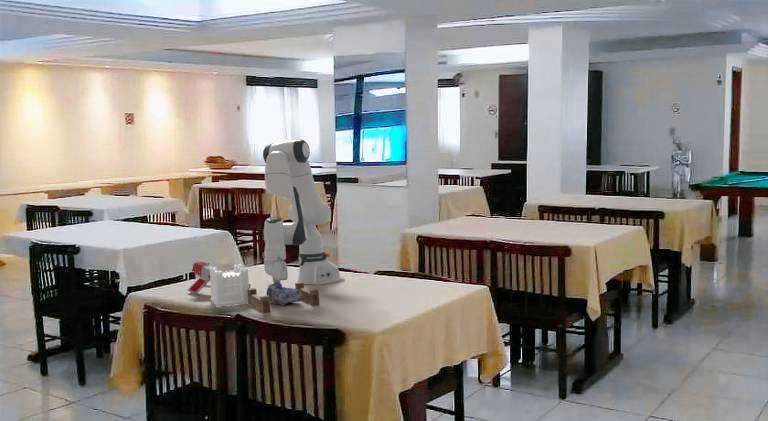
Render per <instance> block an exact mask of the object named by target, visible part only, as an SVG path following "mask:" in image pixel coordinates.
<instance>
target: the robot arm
mask: <svg viewBox="0 0 768 421" xmlns="http://www.w3.org/2000/svg"><path fill="white" fill-rule="evenodd" d="M310 152H311V150H310V147H309V143H308V142H307V141H306V140H304V139H290V140H289V139H287V140H283V141H278V142H275V143H274V142H273V143H269V144H267V145H265V146H264V149H263V151H262V158H263V161H264V163H265V167H264V185H265V188H266V190H267V192H269V193H270V194H272V195H273V196H275V197H278V198H281V199H284V200H286V201H288V202H289V207H288V210H287V214H288V217H289V219H291V221H292V222H284V220H283V218H282V217H281V216H271V217H267V218H266V219H265V221H264V225H263V227H264V228H263V229H262V236H263V237H262V239H263V241H264V244H265V245H264V252H262V258H263V266H264V272H265V274H267V275H268V276H269V277H270V276H271V277H272V281H273V284H274V283H276V282H278V283H281V281H287V280H288V278H289V276H288V274H289V273H288V265H287V263H286V261H285V260H287V254H286V245H290V246H291V245H293V246H299V253H298V264H299V270H298V271H299V272H298V278H297V283H299V282H303V283H304V285H318V286H320V285H326V284H331V283H336V282H342V281H345V276H342V275H340V270H339V268H338V266H337V265H336V264H334V263H333V262H332V261H330V260H329V259H327V258H330V256H331V254H330V252H325V251H323V236H322V234H321V233H320V231H319V230H318V228H317V226H318V225H324V224H326V223H328V222H329V221H330V219H331V217H332V210H331V207H330V206H329V205H328V204H327V203H326V202H325V201H324V200H323V198H322V197H321V195H320V193H319V191H318V189H317V186H316V183H315V180H314V176H313V172H312V168H311V164H310V161H309V157H310V154H311V153H310Z"/></svg>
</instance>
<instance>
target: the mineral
mask: <svg viewBox="0 0 768 421" xmlns="http://www.w3.org/2000/svg"><path fill="white" fill-rule="evenodd" d="M299 293H300V290H297V289H295V288H292V287H285V286H282V283H281V282H280V283H278V282H276V283H274V282H273V283H270V284H268V286H267V289H266V296H267V295H268V296H270V303H272V304H273V305H278V304H280V305H281V306H286V305H287V304H291V303H292V304H293V303H300V302H301V301H302V300H301V299H300V298H301V294H299Z"/></svg>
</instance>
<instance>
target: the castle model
mask: <svg viewBox="0 0 768 421" xmlns="http://www.w3.org/2000/svg"><path fill="white" fill-rule="evenodd" d="M242 266H243V265H242V264H241V263H239V264H233V270H225V271H223V270H221V271H217V269H218V267H217V266H212V267H213V268H212V267H210V279H211V282H210V285H211V288H210V291H211V292H210V293H211V296H210V302H211V301H212V302H213V303H214V304H215V305H214V304H213V303H212V302H211V303H212V304H213V305H214V306H215V307H216V308H221V307H220V306H226V307H229V306H228V305H234V306H236V305H235V304H242V305H248V304H247V303H248V289H249V284H250V283H249V269H248V268H247V267H244V268H243V267H242ZM223 272H225V273H223Z"/></svg>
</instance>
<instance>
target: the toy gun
mask: <svg viewBox="0 0 768 421" xmlns="http://www.w3.org/2000/svg"><path fill="white" fill-rule="evenodd" d="M210 267H212V268H213V267H214V266H213V265H210V263H209V262H208V263H207V262H203V261H198V262H195V263H193V265H192V269H191V272H192V273H193V274H195V275H197V276H199V278H197V280H195V282H194V283H192V285H191V286H190V287H189V288H188V289H187V291H188V292H190V293H192V294H193V295H196V294H198V293H199V292H200V291H201V290H203V288H209V289H211V284H208V283H209V282H210V283H211V279H210ZM217 271H222V270H221V269H219V268H217ZM223 273H225V271H223ZM251 287H252V286H251V284H250V283H249V289H251Z"/></svg>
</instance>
